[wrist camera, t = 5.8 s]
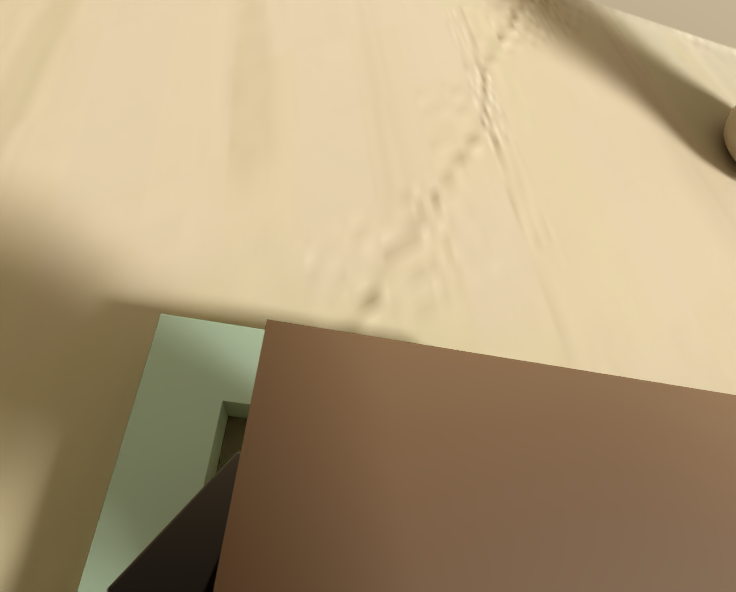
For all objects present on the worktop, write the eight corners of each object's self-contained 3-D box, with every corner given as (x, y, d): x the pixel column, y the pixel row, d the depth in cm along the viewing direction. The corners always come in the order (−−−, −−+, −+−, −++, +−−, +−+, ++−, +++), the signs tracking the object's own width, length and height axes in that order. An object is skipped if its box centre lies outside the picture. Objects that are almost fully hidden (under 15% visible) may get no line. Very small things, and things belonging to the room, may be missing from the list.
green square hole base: (470, 759, 15) (517, 818, 12) (61, 752, 13) (8, 820, 10) (470, 384, 20) (504, 367, 17) (175, 341, 18) (160, 313, 15)
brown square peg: (371, 621, 14) (993, 1275, 2) (233, 612, 13) (39, 1463, 2) (381, 477, 15) (758, 398, 4) (259, 463, 15) (267, 319, 3)
